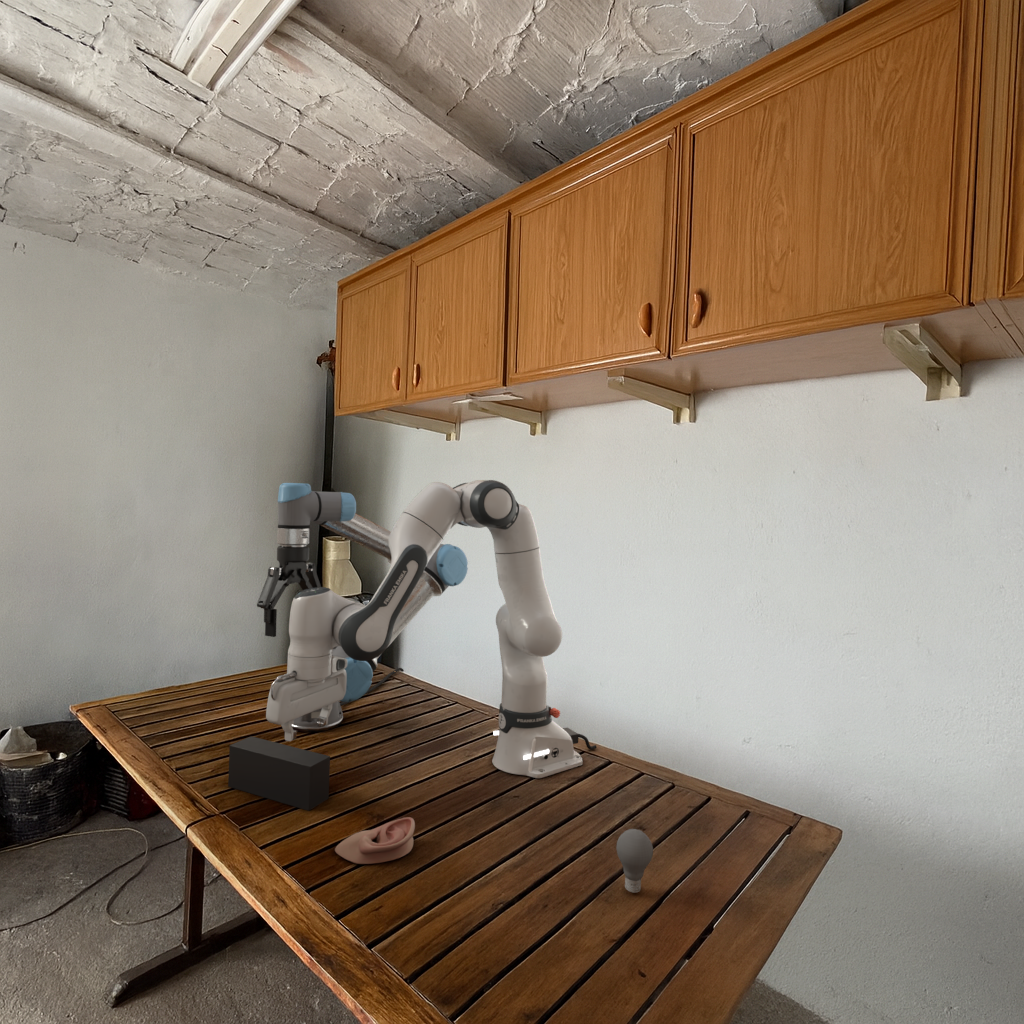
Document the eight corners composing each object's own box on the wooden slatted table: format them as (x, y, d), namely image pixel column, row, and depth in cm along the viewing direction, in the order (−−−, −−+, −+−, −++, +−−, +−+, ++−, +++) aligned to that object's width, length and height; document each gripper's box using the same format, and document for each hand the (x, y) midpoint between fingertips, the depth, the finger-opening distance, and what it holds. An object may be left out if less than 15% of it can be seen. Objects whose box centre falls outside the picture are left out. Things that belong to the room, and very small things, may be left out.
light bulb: (610, 879, 108) (613, 822, 108) (644, 879, 109) (647, 822, 109) (619, 902, 102) (622, 840, 102) (655, 901, 103) (658, 840, 103)
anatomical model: (327, 836, 111) (356, 806, 122) (326, 858, 111) (355, 826, 122) (398, 848, 108) (421, 815, 119) (397, 871, 108) (420, 836, 119)
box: (227, 786, 137) (229, 745, 136) (249, 775, 142) (251, 736, 142) (308, 811, 128) (310, 766, 127) (328, 798, 133) (330, 756, 133)
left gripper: (266, 549, 143) (264, 642, 144) (338, 543, 166) (336, 623, 167) (242, 547, 146) (239, 638, 147) (316, 541, 169) (313, 620, 170)
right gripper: (284, 680, 121) (281, 752, 121) (352, 658, 139) (349, 720, 140) (259, 675, 123) (256, 746, 123) (329, 654, 142) (327, 715, 142)
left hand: (291, 631), depth 157 cm, fingers open, 13 cm apart
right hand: (306, 732), depth 132 cm, fingers open, 8 cm apart
